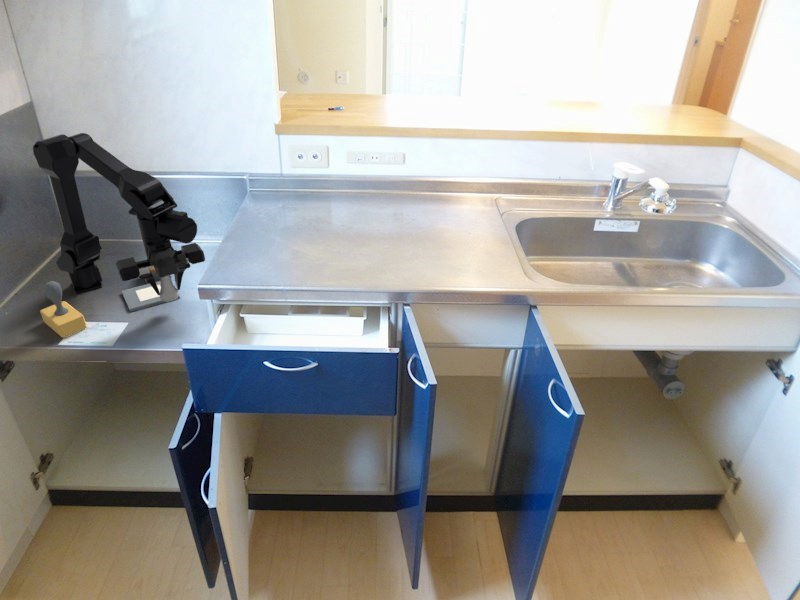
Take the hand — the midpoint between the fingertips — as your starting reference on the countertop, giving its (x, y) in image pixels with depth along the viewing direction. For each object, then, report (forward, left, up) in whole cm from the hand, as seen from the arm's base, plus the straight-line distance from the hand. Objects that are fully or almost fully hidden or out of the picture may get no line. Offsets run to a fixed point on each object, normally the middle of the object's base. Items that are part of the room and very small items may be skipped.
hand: (168, 291), depth 136 cm
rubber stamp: (-23, +7, -6) cm, 25 cm away
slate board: (-3, +10, -6) cm, 12 cm away
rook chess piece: (0, 0, -2) cm, 2 cm away
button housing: (0, +19, -6) cm, 20 cm away
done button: (0, +19, -3) cm, 19 cm away
